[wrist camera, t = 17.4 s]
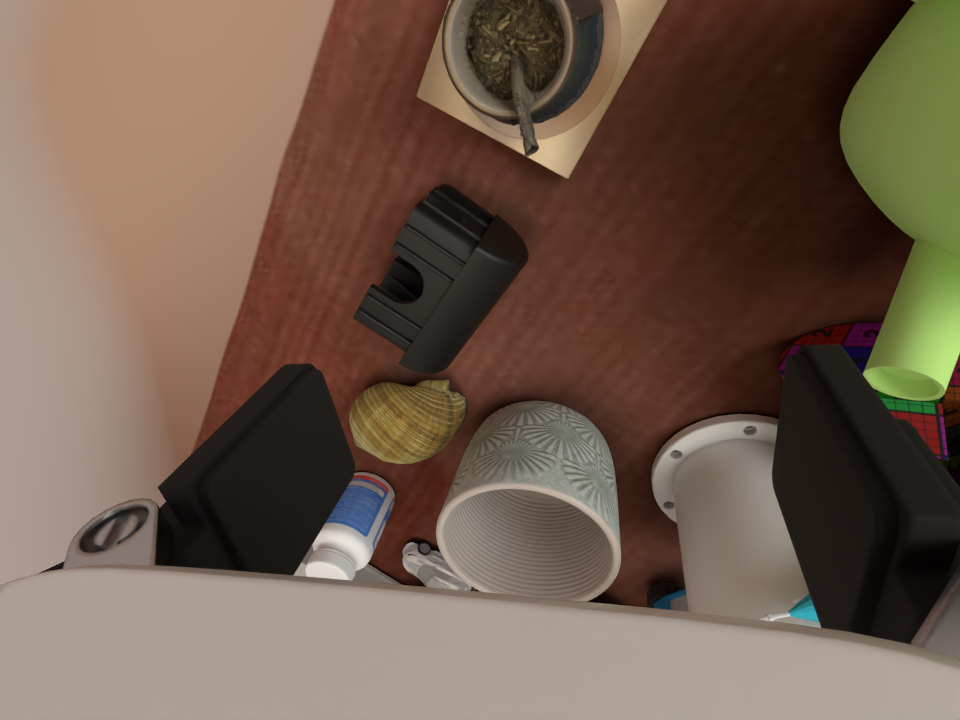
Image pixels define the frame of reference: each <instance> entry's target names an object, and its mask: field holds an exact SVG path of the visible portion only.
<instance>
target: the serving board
mask: <svg viewBox="0 0 960 720" xmlns="http://www.w3.org/2000/svg"><path fill="white" fill-rule="evenodd" d="M599 1H600V3H601V5H602V7H603V19H604V20H603V22H604V23H603V24H604V36H603V37H604V38H603V44H602V51H601V56H600V61H599V64H598V67H597V69H596V71H595V74H594V76H593V78H592V79H591V81H590V83H589V86H588V87H587V89H586V90H585V92H584V93H583V94H582V96H581V97H580V98H579V99H578V100H577V101H576V102H575V103H573V105H572V106H570V108H569V109H567V110H566V111H564V112H563V113H561V114H560V115H559V116H557V117H555V118H551V119H549V120H546V121H544V122H543V123H538V124H537V123H535V124H533V126H534V130H535V139H536V140H537V143H538V145H539V150H538V151H537V152H536V153H534V154H532V155H530V156H528V158H530V159H531V160H533V161H535V162H537V163H539V164H541V165H542V166H544V167H546V168H548V169H550V170H552V171H553V172H555V173H557V174H559V175H561V176H562V177H564V178H566V179H568V178H569V177H570V175H571V173H572V171H573V169H574V168H575V166H576V164H577V162H578V160H579V159H580V157H581V155H582V153H583V152H584V150H585V148H586V146H587V144H588V143H589V141H590V139H591V137H592V135H593V134H594V132H595V130H596V128H597V126H598V125H599V123H600V121H601V119H602V117H603V116H604V114H605V112H606V110H607V108H608V107H609V105H610V103H611V101H612V99H613V98H614V96H615V94H616V92H617V90H618V89H619V87H620V85H621V83H622V81H623V80H624V78H625V76H626V74H627V72H628V71H629V69H630V67H631V65H632V63H633V62H634V60H635V58H636V56H637V54H638V53H639V51H640V49H641V47H642V45H643V44H644V42H645V40H646V38H647V36H648V35H649V33H650V31H651V29H652V27H653V26H654V24H655V22H656V20H657V18H658V17H659V15H660V13H661V11H662V9H663V8H664V6H665V4H666V2H667V0H599ZM450 2H451V0H449V2H448V5H447V8H448V6H449V4H450ZM447 8H446V10H447ZM445 14H446V11H445ZM445 14H444V16H445ZM443 21H444V17H443V20H442V22H441V25H440V28H439V31H438V34H437V37H436V40H435V43H434V46H433V49H432V51H431V54H430V57H429V60H428V63H427V66H426V69H425V72H424V75H423V78H422V80H421V83H420V86H419V89H418V92H417V95H416V96H417V97H418V98H420V99H422V100H423V101H425V102H427V103H429V104H431V105H433V106H434V107H436V108H438V109H440V110H442V111H444V112H445V113H447V114H449V115H451V116H453V117H455V118H456V119H458V120H460V121H462V122H464V123H465V124H467V125H469V126H471V127H473V128H475V129H476V130H478V131H480V132H482V133H484V134H486V135H487V136H489V137H491V138H493V139H495V140H497V141H498V142H500V143H502V144H504V145H506V146H508V147H509V148H511V149H513V150H515V151H517V152H519V153H520V154H522V155H524V156H525V151H524V146H523V137H522V136H521V135H520V132H521V131H520V129H519V127H520V126H519V124H517V125H515V126H512V125H509V124H505V123H502V122H499V121H497V120H495V119H494V118H492V117H489V116H486V115H484V114H482V113H480V112H479V111H477V110H476V109H475V108H473V107H472V106H470V105H469V104H468V103H467V102H466V101H465V100H464V99H463V98H462V97H461V95H459V93H458V92H457V90H456V89H455V87H454V85H453V84H452V82H451V80H450V78H449V76H448V72H447V70H446V67H445V63H444V60H443V53H442V29H443V28H442V26H443Z"/></svg>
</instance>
